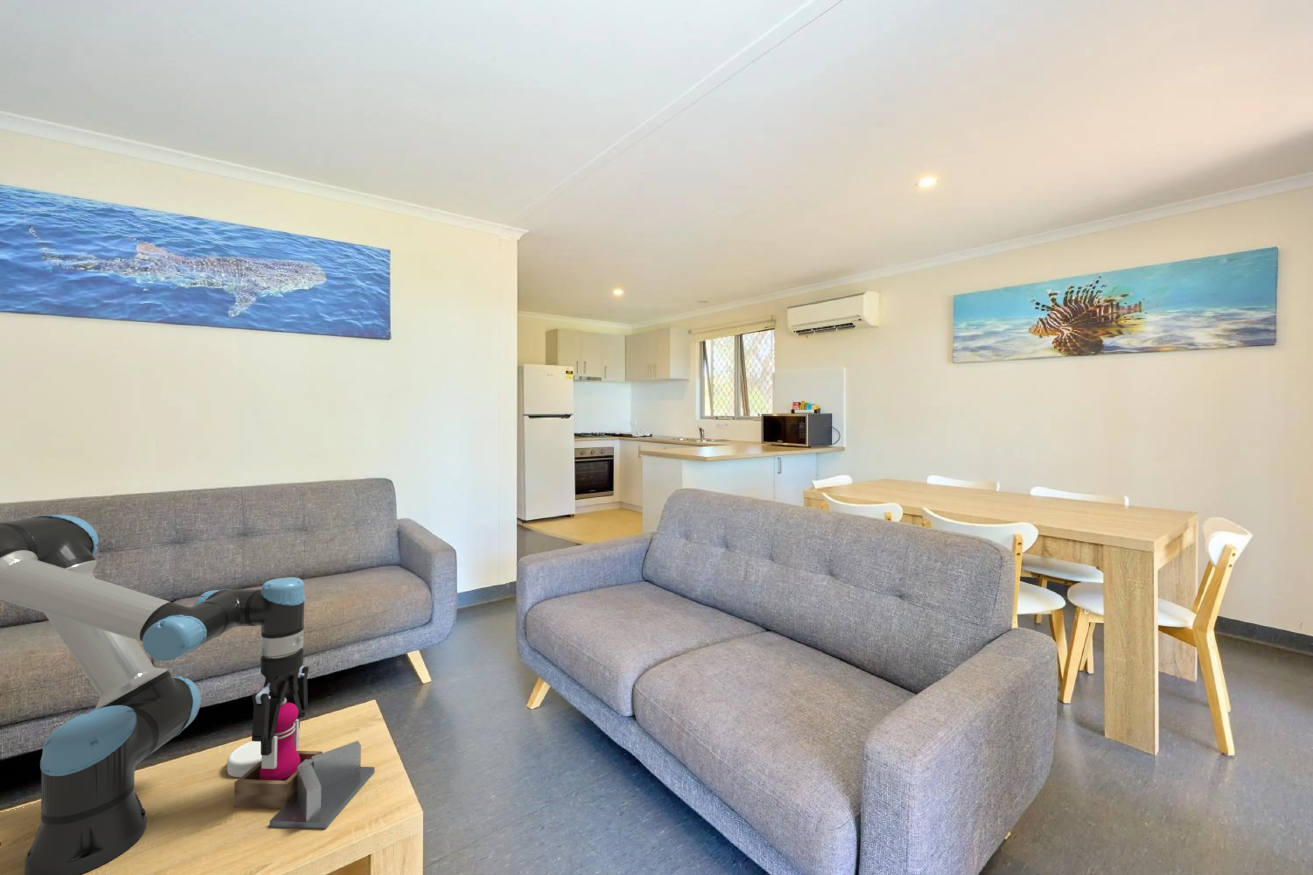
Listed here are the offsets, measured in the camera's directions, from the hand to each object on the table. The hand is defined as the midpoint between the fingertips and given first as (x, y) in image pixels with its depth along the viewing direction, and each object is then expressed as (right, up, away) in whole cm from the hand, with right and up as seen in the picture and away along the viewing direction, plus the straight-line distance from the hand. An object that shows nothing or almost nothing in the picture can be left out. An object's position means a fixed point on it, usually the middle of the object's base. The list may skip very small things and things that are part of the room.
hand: (280, 757), depth 112 cm
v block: (+11, -7, -2) cm, 13 cm away
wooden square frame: (0, -7, 0) cm, 7 cm away
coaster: (-12, -7, +8) cm, 16 cm away
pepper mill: (0, -7, 0) cm, 7 cm away
